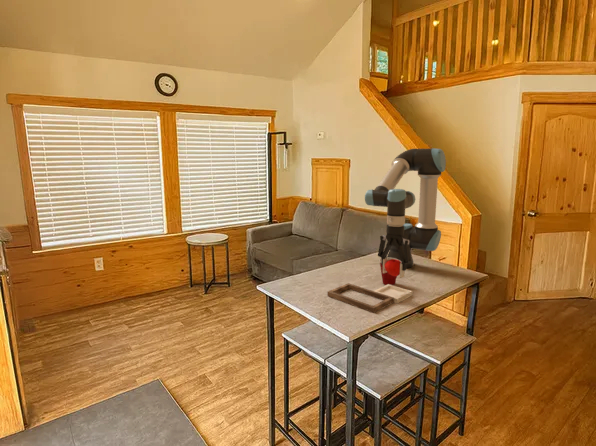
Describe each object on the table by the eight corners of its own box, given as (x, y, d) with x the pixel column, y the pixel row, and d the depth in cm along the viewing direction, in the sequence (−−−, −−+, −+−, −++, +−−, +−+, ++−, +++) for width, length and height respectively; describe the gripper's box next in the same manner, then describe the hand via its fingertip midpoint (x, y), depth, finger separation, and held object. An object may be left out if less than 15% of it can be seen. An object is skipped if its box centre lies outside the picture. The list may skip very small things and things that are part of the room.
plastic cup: (389, 289, 176) (390, 265, 174) (373, 282, 185) (374, 259, 182) (405, 284, 182) (406, 261, 179) (388, 278, 191) (389, 255, 188)
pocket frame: (348, 287, 179) (348, 283, 179) (393, 302, 162) (394, 297, 161) (327, 295, 169) (327, 291, 169) (373, 312, 152) (373, 308, 151)
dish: (388, 288, 178) (388, 284, 177) (412, 295, 169) (412, 291, 168) (372, 295, 169) (372, 291, 169) (397, 303, 160) (397, 298, 160)
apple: (380, 274, 168) (381, 259, 167) (392, 271, 173) (392, 255, 171) (395, 279, 162) (395, 263, 160) (406, 275, 166) (407, 259, 165)
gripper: (370, 222, 167) (368, 271, 172) (413, 229, 153) (410, 282, 157) (380, 220, 173) (378, 267, 177) (422, 227, 158) (418, 278, 162)
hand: (393, 274), depth 167 cm, fingers closed on apple, 8 cm apart
